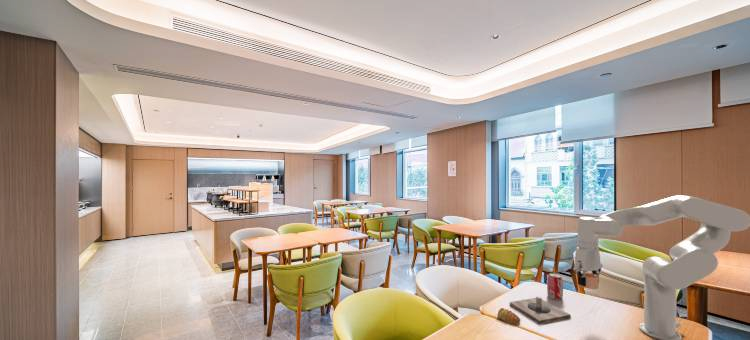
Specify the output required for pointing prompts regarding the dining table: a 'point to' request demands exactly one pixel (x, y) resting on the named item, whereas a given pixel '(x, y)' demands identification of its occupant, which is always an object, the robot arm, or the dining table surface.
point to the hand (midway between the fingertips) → (588, 283)
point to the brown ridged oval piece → (508, 316)
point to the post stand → (540, 310)
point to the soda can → (555, 286)
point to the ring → (591, 281)
